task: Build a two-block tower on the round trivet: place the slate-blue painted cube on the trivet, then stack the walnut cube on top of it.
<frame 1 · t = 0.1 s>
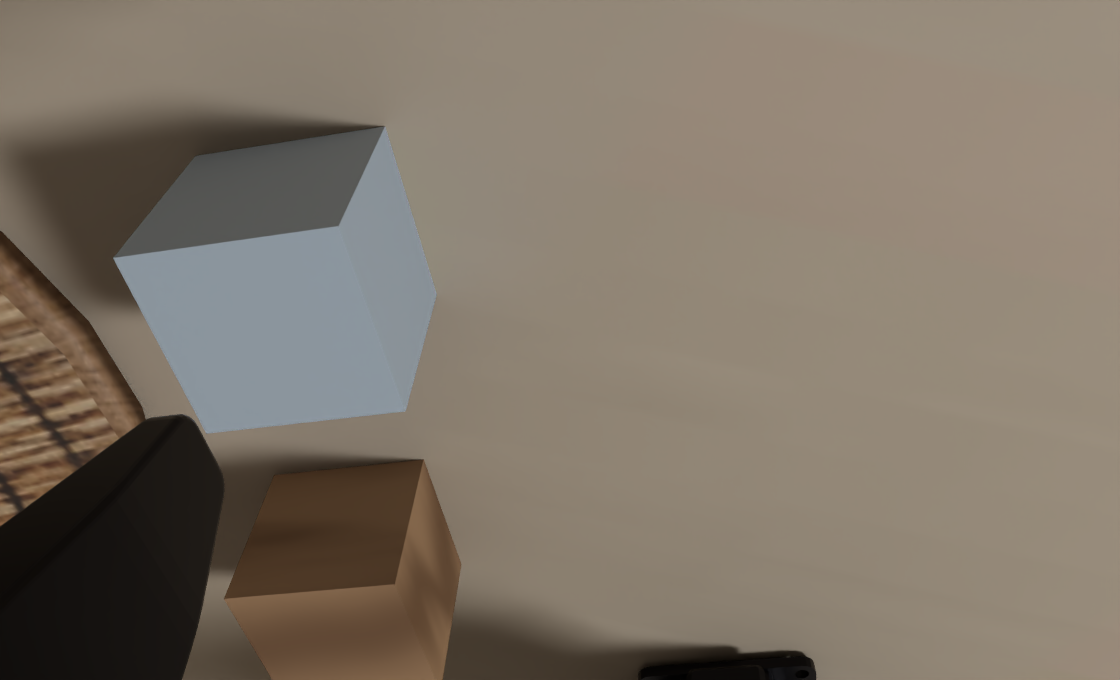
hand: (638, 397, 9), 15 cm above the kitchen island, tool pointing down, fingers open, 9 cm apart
walnut block: (371, 519, 32), on the kitchen island
slate block: (322, 226, 25), on the kitchen island
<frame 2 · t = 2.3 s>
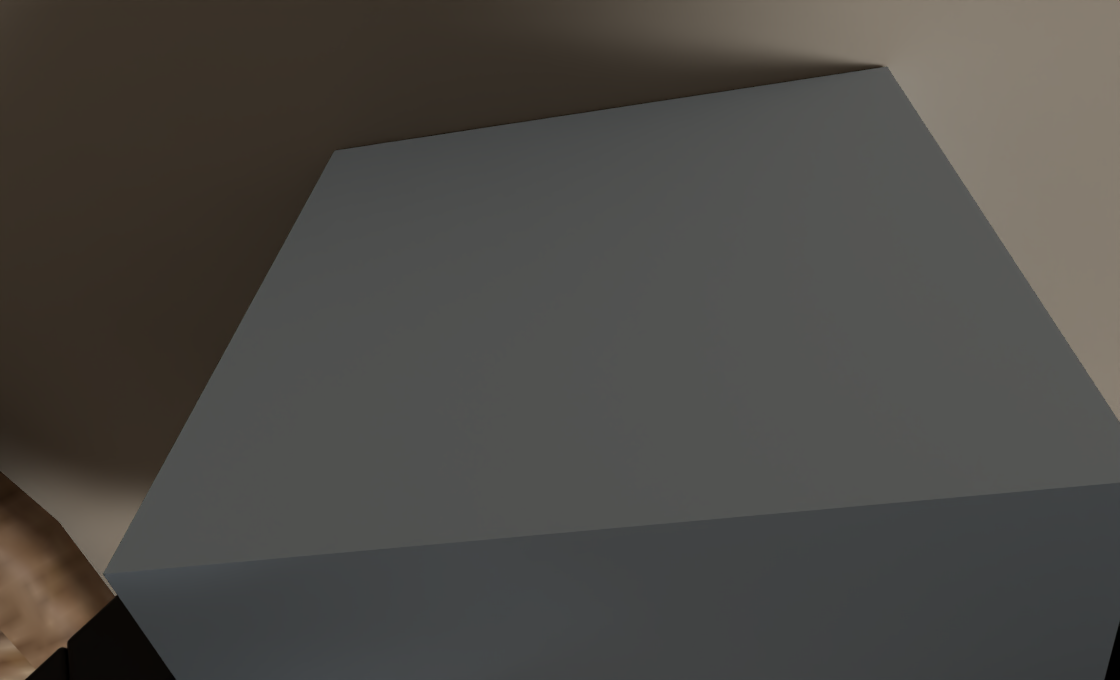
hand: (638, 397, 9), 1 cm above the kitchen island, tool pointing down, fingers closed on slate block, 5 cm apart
slate block: (635, 333, 10), on the kitchen island, touching gripper
when the fingers open (4 cm above the kitchen island, at t = 5.8 s): slate block drops 2 cm, resting on trivet.
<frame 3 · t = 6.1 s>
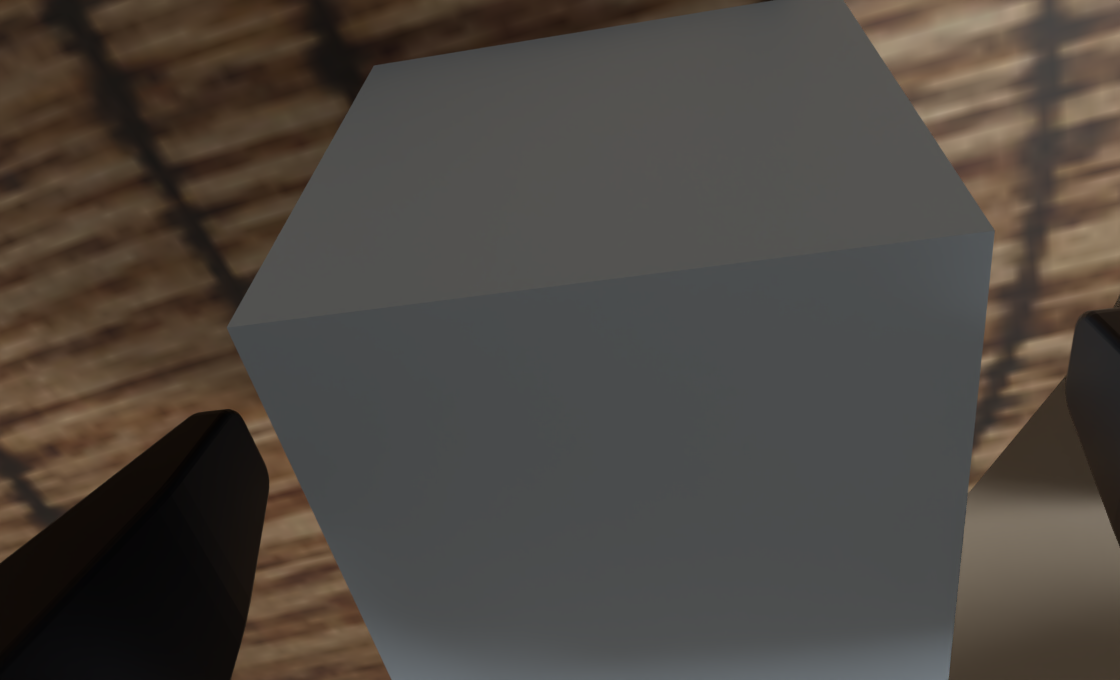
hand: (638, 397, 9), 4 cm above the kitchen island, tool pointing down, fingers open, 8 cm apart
slate block: (628, 230, 12), point 1 cm above the kitchen island, touching trivet
trivet: (175, 87, 13), on the kitchen island, touching slate block
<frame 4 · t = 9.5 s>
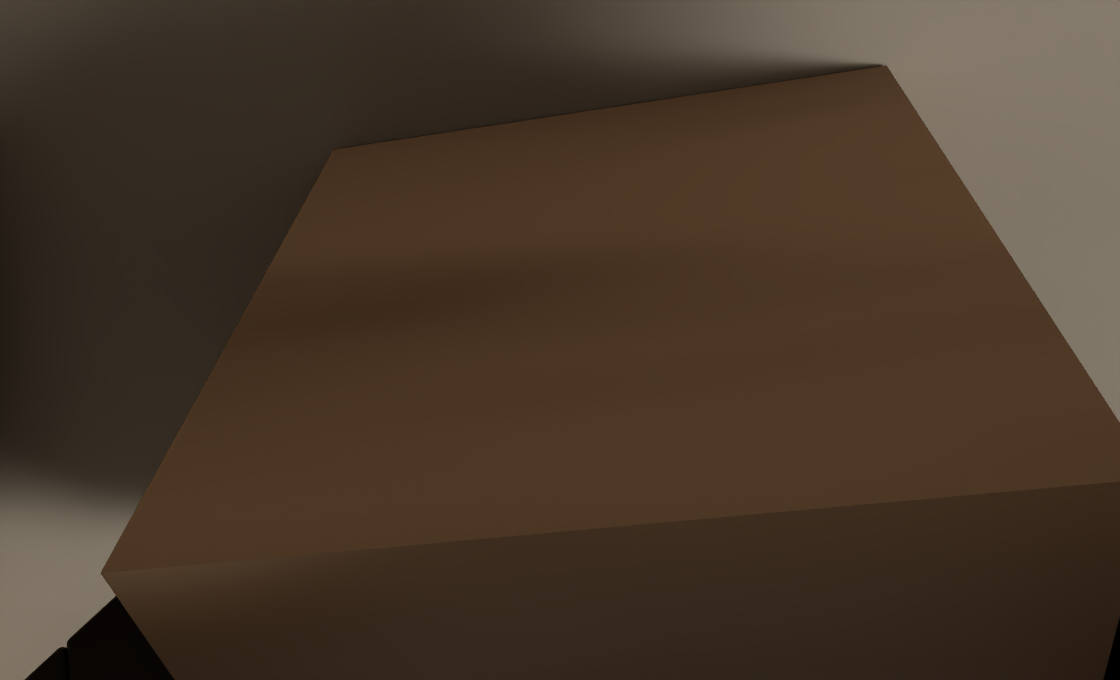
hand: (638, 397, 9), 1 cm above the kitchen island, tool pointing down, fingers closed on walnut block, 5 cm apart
walnut block: (635, 333, 10), on the kitchen island, touching gripper
when the fingers open (9 cm above the kitchen island, at t = 12.5 s): walnut block drops 2 cm, resting on slate block.
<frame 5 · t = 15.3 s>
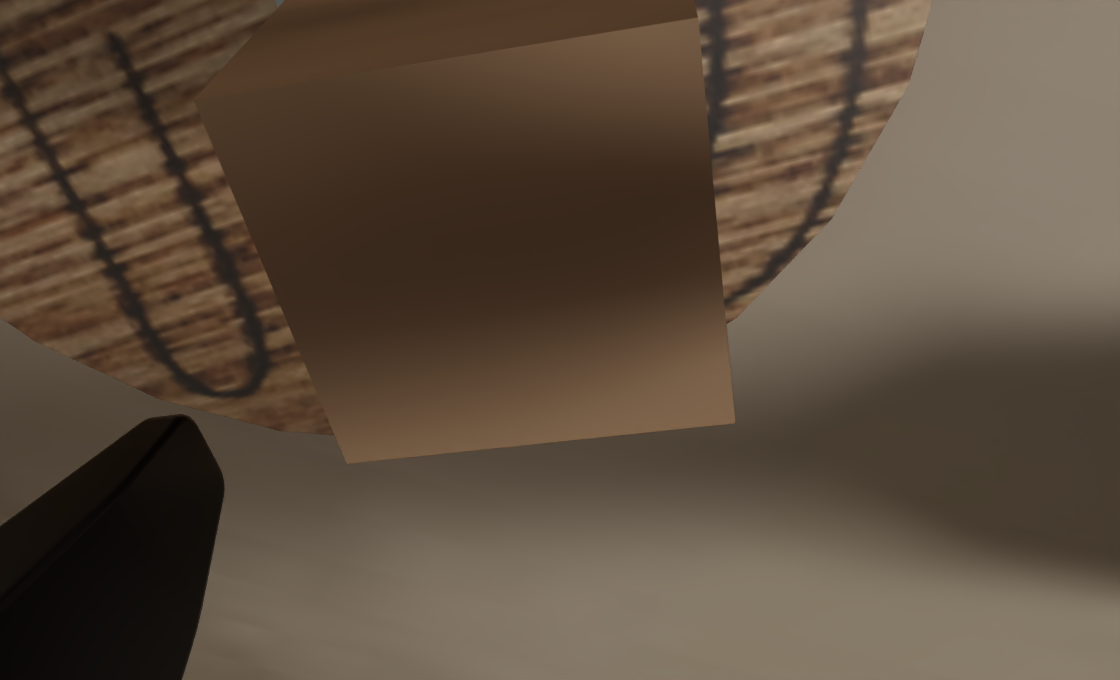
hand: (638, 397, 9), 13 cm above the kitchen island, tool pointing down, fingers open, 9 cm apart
walnut block: (524, 103, 15), point 6 cm above the kitchen island, touching slate block
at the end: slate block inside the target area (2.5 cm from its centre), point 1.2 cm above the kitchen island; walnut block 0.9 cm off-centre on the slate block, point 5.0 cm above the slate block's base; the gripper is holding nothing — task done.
